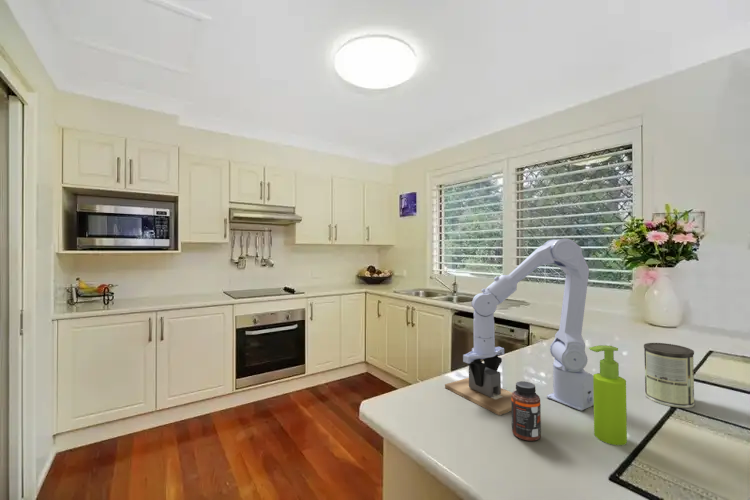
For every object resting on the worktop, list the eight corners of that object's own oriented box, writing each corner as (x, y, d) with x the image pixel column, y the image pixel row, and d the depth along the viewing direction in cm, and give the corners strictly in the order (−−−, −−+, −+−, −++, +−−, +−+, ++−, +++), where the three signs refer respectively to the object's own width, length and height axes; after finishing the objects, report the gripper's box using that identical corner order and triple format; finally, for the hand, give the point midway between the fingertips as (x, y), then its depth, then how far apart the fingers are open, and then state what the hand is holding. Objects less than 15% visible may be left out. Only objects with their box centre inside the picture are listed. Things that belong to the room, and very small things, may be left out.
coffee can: (638, 389, 98) (637, 341, 98) (682, 394, 94) (681, 344, 94) (654, 405, 88) (653, 351, 88) (704, 410, 85) (703, 355, 85)
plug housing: (500, 394, 93) (500, 372, 93) (490, 397, 91) (490, 375, 91) (478, 384, 100) (478, 364, 100) (468, 387, 98) (468, 366, 98)
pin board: (529, 403, 90) (529, 392, 90) (499, 415, 84) (499, 403, 84) (473, 379, 107) (473, 370, 107) (444, 387, 101) (444, 377, 101)
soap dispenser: (583, 431, 76) (582, 343, 76) (612, 429, 77) (610, 342, 77) (603, 446, 70) (601, 351, 70) (634, 444, 71) (632, 349, 71)
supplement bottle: (544, 443, 72) (543, 390, 72) (514, 441, 73) (514, 388, 73) (536, 429, 77) (536, 380, 77) (509, 426, 79) (508, 378, 79)
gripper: (490, 329, 103) (491, 374, 103) (455, 336, 95) (455, 384, 95) (510, 334, 96) (510, 381, 96) (473, 342, 89) (474, 393, 89)
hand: (484, 383), depth 96 cm, fingers closed on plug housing, 4 cm apart
